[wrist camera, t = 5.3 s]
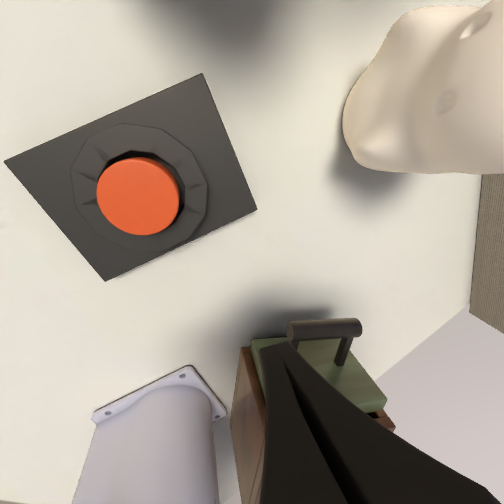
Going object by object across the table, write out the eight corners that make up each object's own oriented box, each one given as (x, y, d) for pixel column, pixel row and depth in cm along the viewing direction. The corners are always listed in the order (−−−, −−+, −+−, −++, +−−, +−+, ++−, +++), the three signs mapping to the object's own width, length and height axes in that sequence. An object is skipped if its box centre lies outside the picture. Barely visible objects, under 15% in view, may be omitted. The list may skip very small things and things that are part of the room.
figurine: (344, 33, 15) (753, -251, 4) (439, 69, 17) (872, -57, 6) (313, 158, 17) (514, 185, 7) (399, 176, 19) (656, 217, 9)
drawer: (258, 296, 20) (290, 364, 14) (349, 294, 22) (410, 352, 16) (239, 413, 25) (256, 500, 19) (314, 402, 27) (351, 477, 21)
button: (133, 235, 14) (126, 247, 12) (91, 175, 12) (77, 180, 11) (191, 208, 14) (192, 216, 13) (157, 145, 13) (153, 145, 11)
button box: (110, 272, 17) (96, 297, 15) (17, 159, 14) (-24, 164, 11) (253, 205, 18) (265, 216, 15) (201, 78, 14) (204, 63, 11)
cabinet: (240, 347, 23) (268, 451, 15) (333, 340, 25) (396, 426, 18) (229, 423, 27) (246, 537, 19) (310, 411, 29) (354, 507, 22)
